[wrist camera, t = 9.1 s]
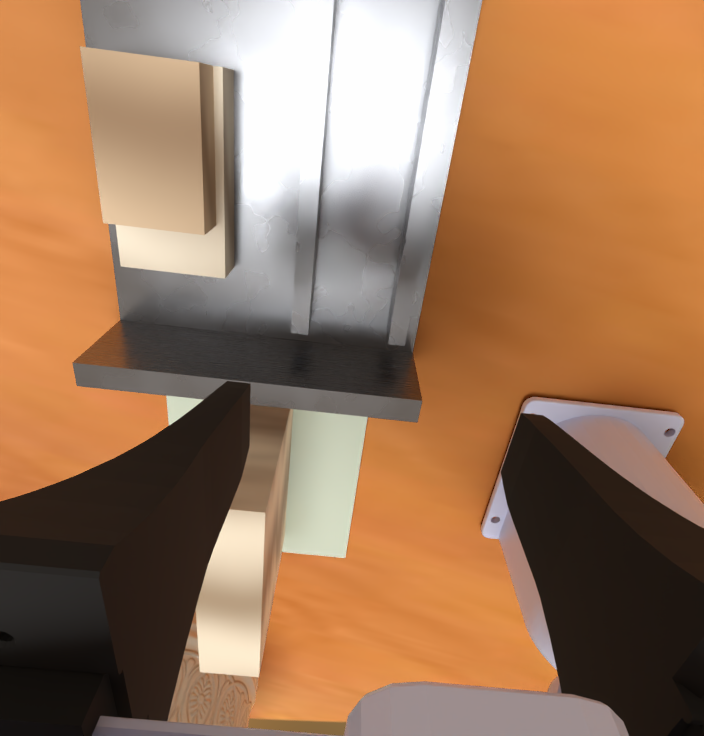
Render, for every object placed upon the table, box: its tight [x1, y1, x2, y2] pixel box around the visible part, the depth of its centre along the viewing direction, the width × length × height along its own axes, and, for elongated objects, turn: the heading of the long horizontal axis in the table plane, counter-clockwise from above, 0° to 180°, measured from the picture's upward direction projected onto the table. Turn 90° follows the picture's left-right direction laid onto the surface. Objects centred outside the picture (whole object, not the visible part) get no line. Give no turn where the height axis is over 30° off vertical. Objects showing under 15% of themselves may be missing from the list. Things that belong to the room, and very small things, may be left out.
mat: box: [167, 396, 368, 558], centre depth 26 cm, size 12×10×1 cm
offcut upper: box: [80, 46, 216, 235], centre depth 16 cm, size 5×3×2 cm
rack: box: [73, 0, 482, 422], centre depth 17 cm, size 16×13×5 cm
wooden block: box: [196, 405, 293, 677], centre depth 22 cm, size 10×3×8 cm, turn 173°
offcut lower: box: [116, 66, 234, 279], centre depth 18 cm, size 7×4×2 cm, turn 173°
